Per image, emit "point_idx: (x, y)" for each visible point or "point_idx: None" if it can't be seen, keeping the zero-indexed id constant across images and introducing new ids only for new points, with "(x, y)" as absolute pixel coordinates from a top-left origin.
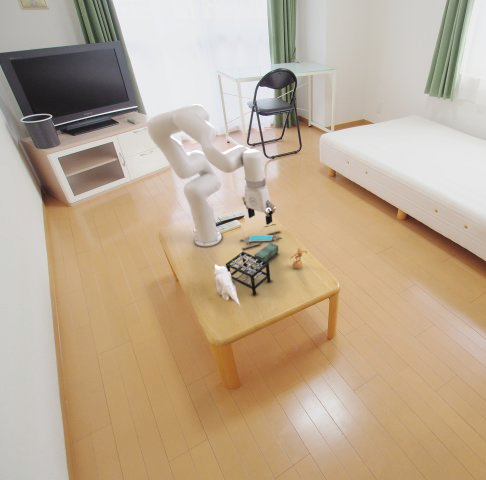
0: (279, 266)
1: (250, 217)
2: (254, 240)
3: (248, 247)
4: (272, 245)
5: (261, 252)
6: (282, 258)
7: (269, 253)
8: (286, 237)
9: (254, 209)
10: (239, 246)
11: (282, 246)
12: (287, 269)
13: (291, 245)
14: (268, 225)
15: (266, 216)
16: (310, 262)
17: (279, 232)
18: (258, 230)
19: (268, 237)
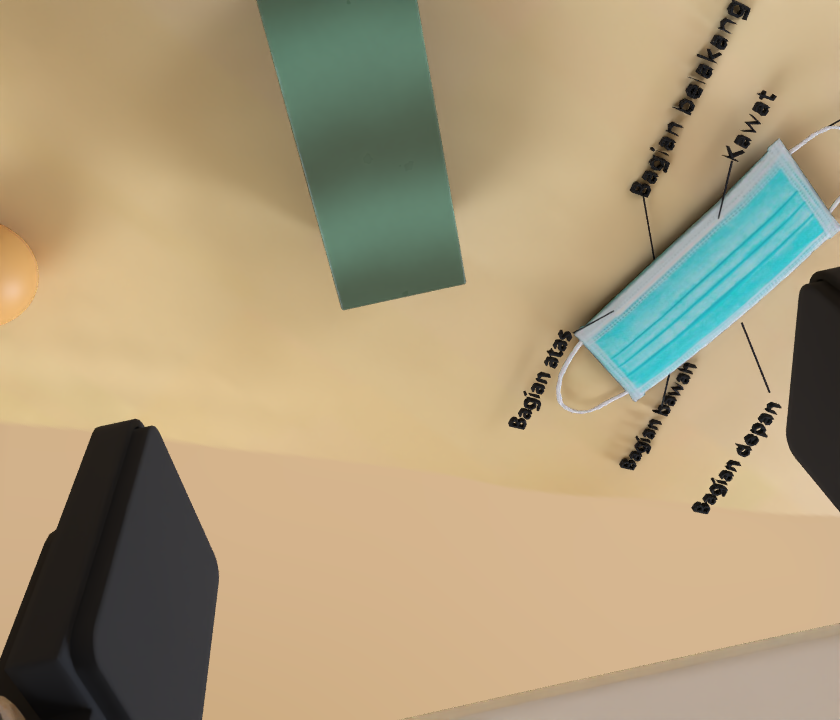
0: (141, 119)
1: (808, 296)
2: (731, 206)
3: (707, 75)
4: (395, 265)
5: (373, 58)
6: (249, 236)
7: (295, 136)
8: (508, 464)
9: (616, 703)
10: (823, 6)
11: (423, 358)
12: (32, 151)
13: (369, 425)
14: (747, 455)
15: (25, 673)
16: (3, 394)
17: (620, 464)
18: None
19: (640, 346)
